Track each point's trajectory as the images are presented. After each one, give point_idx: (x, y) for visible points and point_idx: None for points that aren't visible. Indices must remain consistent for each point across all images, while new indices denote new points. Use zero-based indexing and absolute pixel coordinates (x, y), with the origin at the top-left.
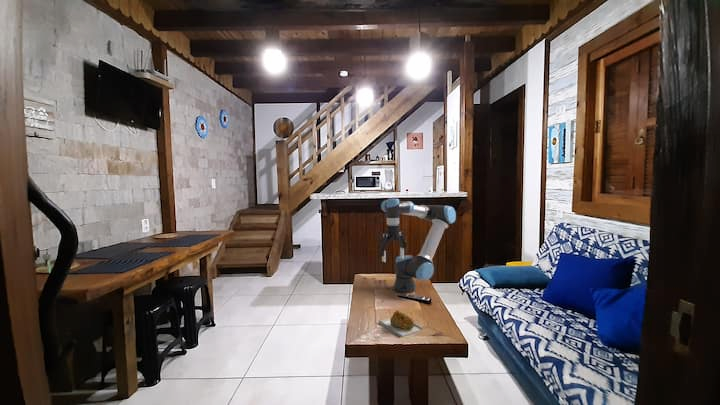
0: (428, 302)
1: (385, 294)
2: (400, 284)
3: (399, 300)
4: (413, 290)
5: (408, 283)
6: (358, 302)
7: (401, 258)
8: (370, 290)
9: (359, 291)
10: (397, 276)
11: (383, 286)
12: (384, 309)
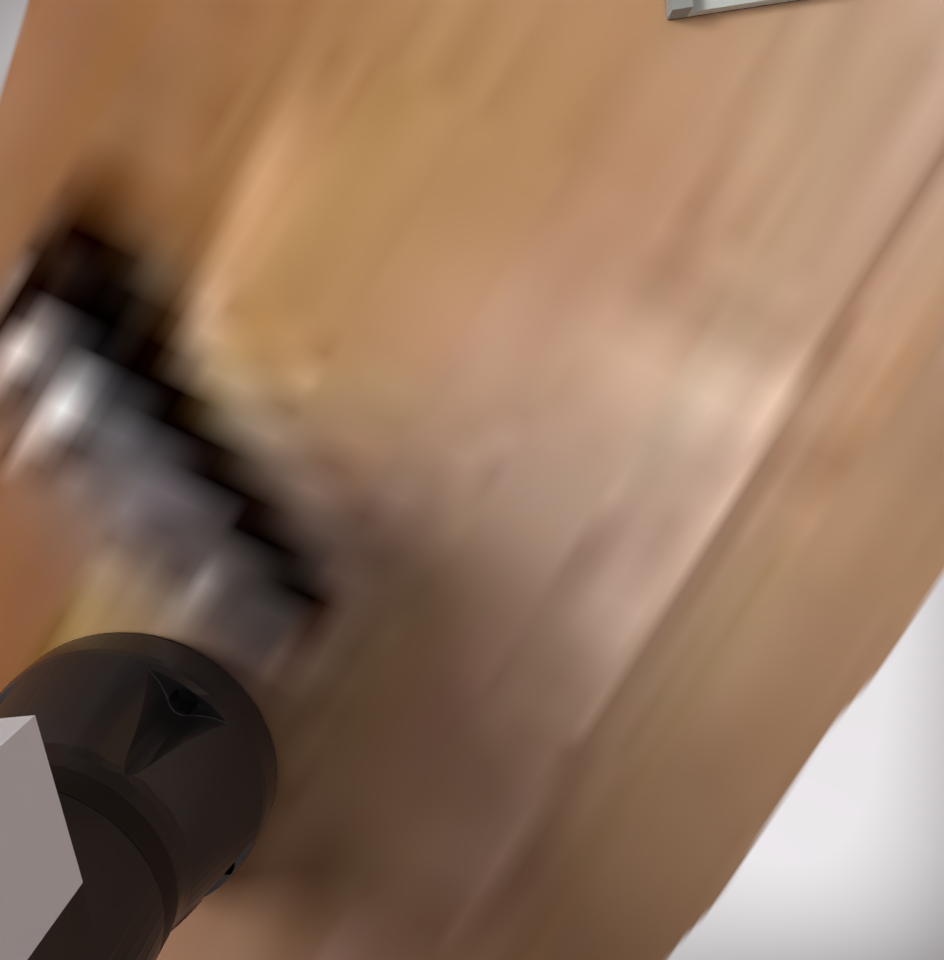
0: (71, 257)
1: (442, 720)
2: (194, 761)
3: (383, 481)
4: (67, 646)
5: (81, 716)
6: (873, 649)
7: (58, 802)
8: (542, 901)
9: (678, 930)
10: (165, 896)
11: (333, 941)
12: (708, 316)
